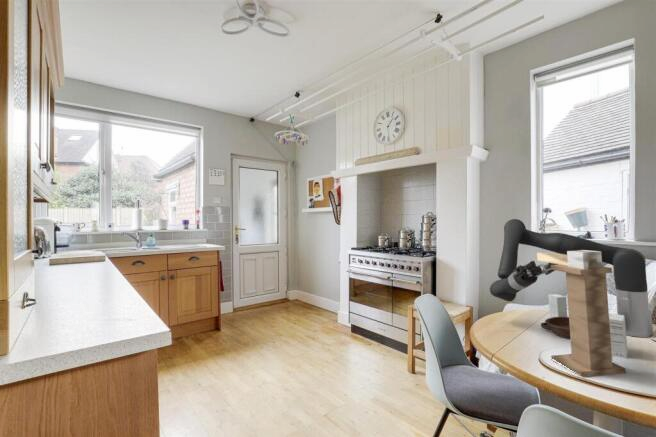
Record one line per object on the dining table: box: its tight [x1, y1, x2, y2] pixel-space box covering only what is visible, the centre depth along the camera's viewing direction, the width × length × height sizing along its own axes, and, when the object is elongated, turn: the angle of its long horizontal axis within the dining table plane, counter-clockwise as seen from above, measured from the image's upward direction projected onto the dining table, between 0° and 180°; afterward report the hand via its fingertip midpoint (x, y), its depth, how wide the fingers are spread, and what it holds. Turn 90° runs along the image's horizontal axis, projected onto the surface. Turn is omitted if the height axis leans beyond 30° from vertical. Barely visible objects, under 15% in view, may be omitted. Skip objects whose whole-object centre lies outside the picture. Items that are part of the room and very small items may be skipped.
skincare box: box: [548, 293, 568, 318], centre depth 145 cm, size 6×4×12 cm
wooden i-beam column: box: [550, 264, 626, 377], centre depth 103 cm, size 14×12×32 cm
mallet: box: [536, 250, 603, 269], centre depth 109 cm, size 6×22×5 cm, turn 3°
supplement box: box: [609, 313, 628, 359], centre depth 112 cm, size 7×7×13 cm
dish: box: [540, 316, 570, 339], centre depth 130 cm, size 18×22×5 cm
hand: (545, 262), depth 118 cm, fingers open, 8 cm apart
